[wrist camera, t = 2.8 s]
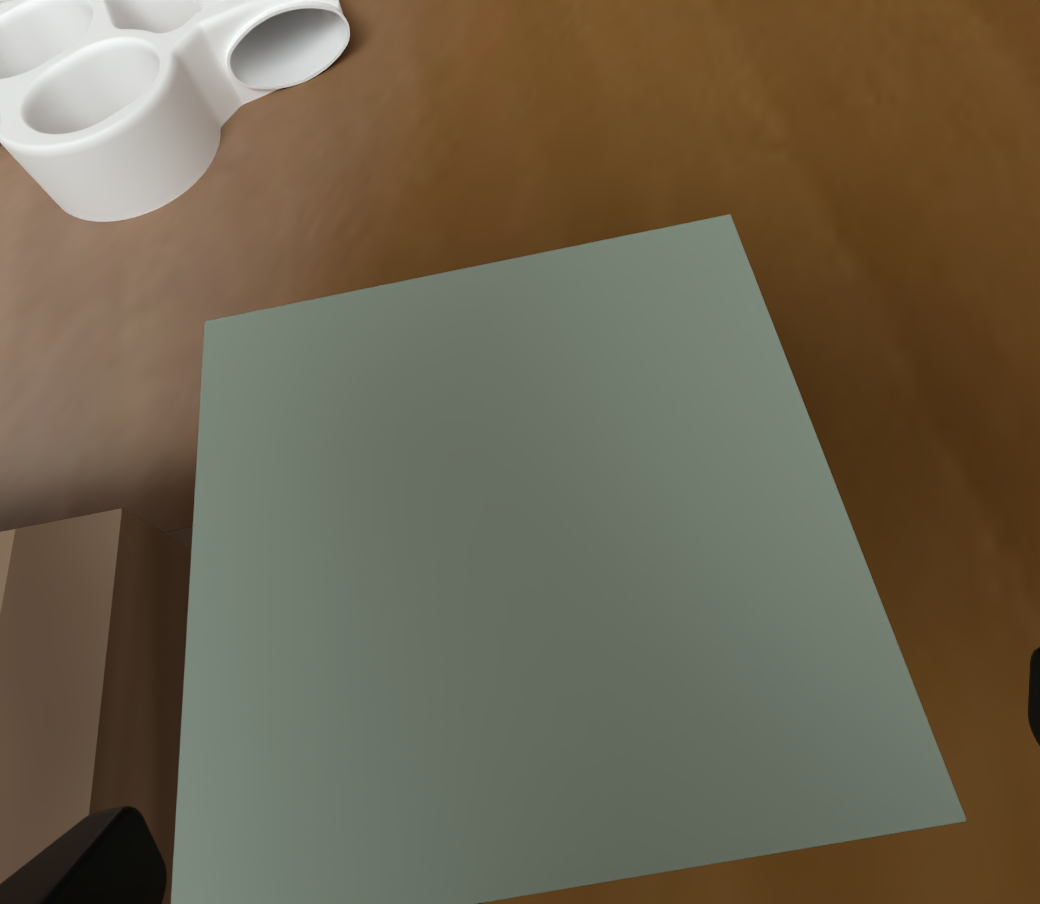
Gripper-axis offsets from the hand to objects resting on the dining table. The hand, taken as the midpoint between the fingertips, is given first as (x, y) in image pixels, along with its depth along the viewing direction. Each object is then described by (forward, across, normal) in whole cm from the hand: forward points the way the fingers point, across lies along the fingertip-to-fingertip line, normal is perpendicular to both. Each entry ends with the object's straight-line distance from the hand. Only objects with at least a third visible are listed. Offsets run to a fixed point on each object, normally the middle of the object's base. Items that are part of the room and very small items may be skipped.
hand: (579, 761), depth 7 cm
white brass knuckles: (+27, +13, -14) cm, 33 cm away
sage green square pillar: (+7, 0, +5) cm, 9 cm away
